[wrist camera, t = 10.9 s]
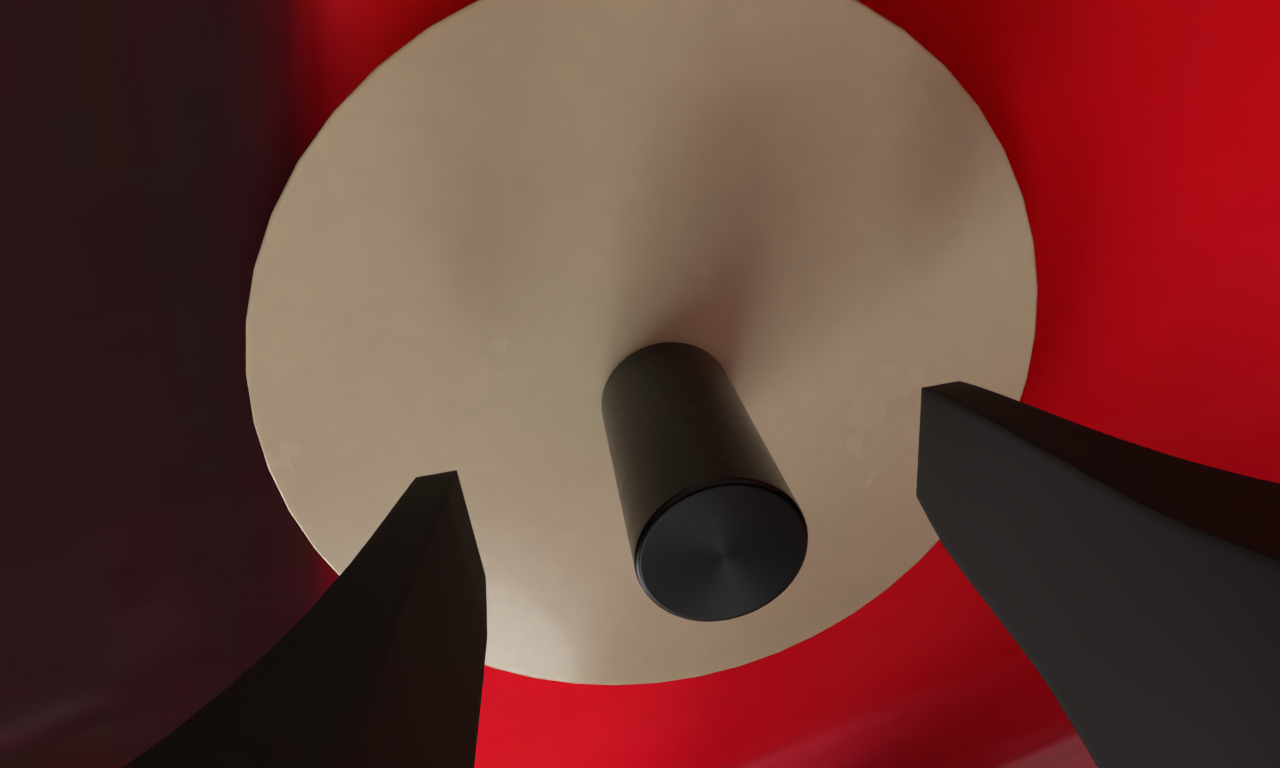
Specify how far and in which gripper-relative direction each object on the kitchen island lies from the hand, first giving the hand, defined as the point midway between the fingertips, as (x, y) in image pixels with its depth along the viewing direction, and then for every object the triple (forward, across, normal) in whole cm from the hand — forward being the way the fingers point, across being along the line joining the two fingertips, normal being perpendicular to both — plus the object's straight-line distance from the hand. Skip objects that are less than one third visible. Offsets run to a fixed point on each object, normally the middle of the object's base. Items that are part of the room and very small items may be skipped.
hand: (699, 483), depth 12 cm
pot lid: (+3, 0, 0) cm, 3 cm away
